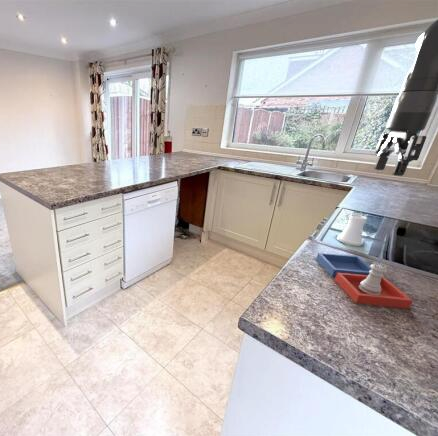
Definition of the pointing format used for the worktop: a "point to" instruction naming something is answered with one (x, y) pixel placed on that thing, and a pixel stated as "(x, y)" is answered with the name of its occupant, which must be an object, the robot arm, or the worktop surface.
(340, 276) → the red tray
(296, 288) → the worktop surface
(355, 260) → the blue tray
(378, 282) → the rook chess piece
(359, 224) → the vase
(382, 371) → the worktop surface
